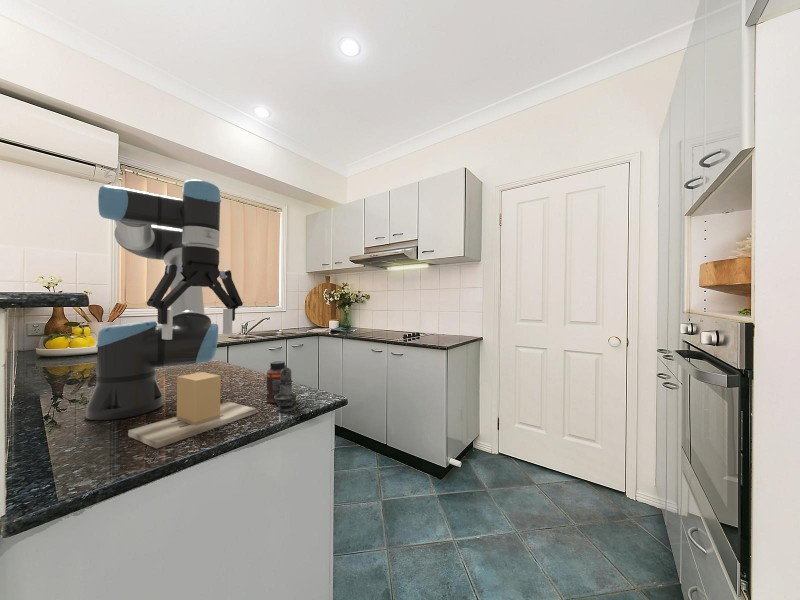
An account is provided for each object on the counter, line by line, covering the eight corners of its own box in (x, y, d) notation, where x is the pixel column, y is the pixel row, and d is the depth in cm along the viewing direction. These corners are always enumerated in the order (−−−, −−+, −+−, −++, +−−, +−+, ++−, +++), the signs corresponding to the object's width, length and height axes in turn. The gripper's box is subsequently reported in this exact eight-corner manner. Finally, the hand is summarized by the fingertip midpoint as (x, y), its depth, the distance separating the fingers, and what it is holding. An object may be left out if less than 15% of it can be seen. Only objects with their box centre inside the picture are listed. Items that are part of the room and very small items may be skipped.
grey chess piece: (300, 405, 85) (301, 362, 85) (291, 413, 79) (291, 367, 79) (280, 405, 85) (280, 362, 85) (269, 412, 79) (270, 366, 79)
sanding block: (176, 418, 71) (177, 376, 71) (201, 411, 76) (201, 371, 76) (195, 425, 67) (196, 380, 67) (220, 417, 72) (220, 375, 72)
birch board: (128, 435, 65) (128, 430, 65) (227, 405, 84) (227, 401, 84) (156, 448, 59) (156, 442, 59) (256, 413, 79) (256, 408, 79)
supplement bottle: (291, 400, 89) (292, 362, 90) (271, 405, 85) (272, 364, 85) (282, 396, 93) (282, 359, 94) (262, 400, 89) (263, 362, 89)
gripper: (145, 235, 59) (143, 343, 59) (257, 254, 82) (256, 333, 81) (128, 239, 63) (126, 340, 63) (239, 256, 85) (238, 331, 85)
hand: (199, 336), depth 72 cm, fingers open, 13 cm apart
